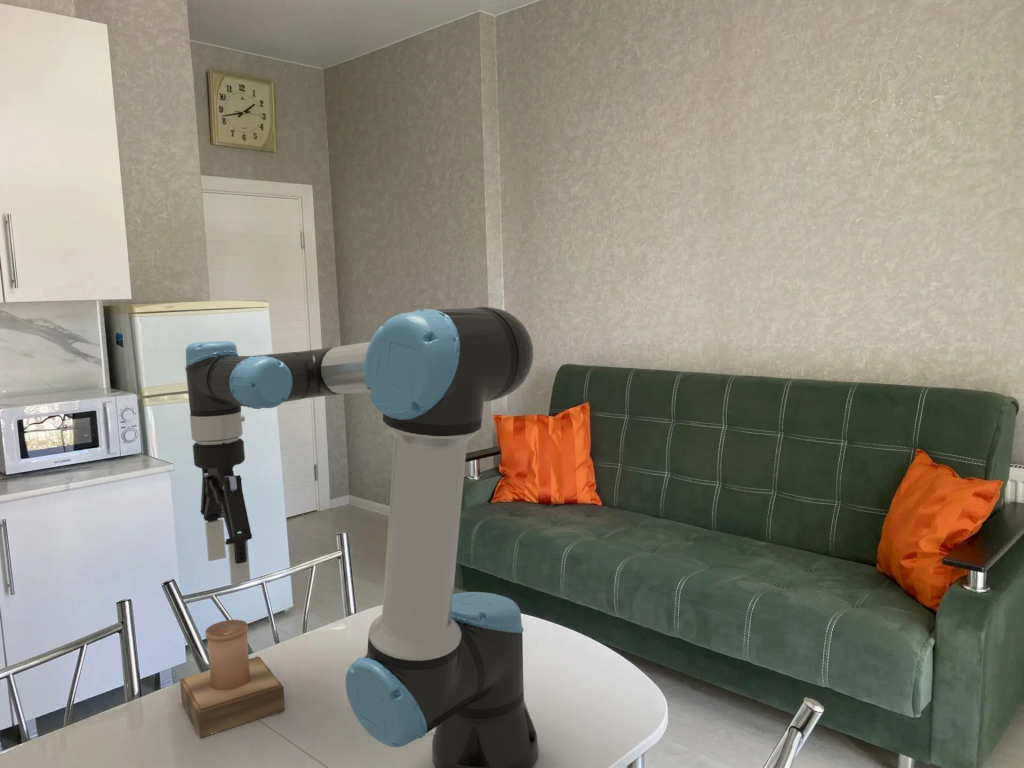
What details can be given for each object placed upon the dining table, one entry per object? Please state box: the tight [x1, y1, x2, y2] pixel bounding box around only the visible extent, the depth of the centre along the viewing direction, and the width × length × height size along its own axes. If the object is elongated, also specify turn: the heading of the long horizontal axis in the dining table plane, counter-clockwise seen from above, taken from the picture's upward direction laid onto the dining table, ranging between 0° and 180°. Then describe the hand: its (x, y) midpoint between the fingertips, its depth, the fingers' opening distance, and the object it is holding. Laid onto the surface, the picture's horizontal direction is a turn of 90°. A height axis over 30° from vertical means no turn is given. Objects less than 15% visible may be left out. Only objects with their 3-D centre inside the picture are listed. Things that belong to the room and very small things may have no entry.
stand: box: [179, 656, 286, 738], centre depth 126 cm, size 13×13×4 cm
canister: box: [205, 619, 250, 690], centre depth 125 cm, size 6×6×9 cm
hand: (228, 570), depth 124 cm, fingers open, 13 cm apart
